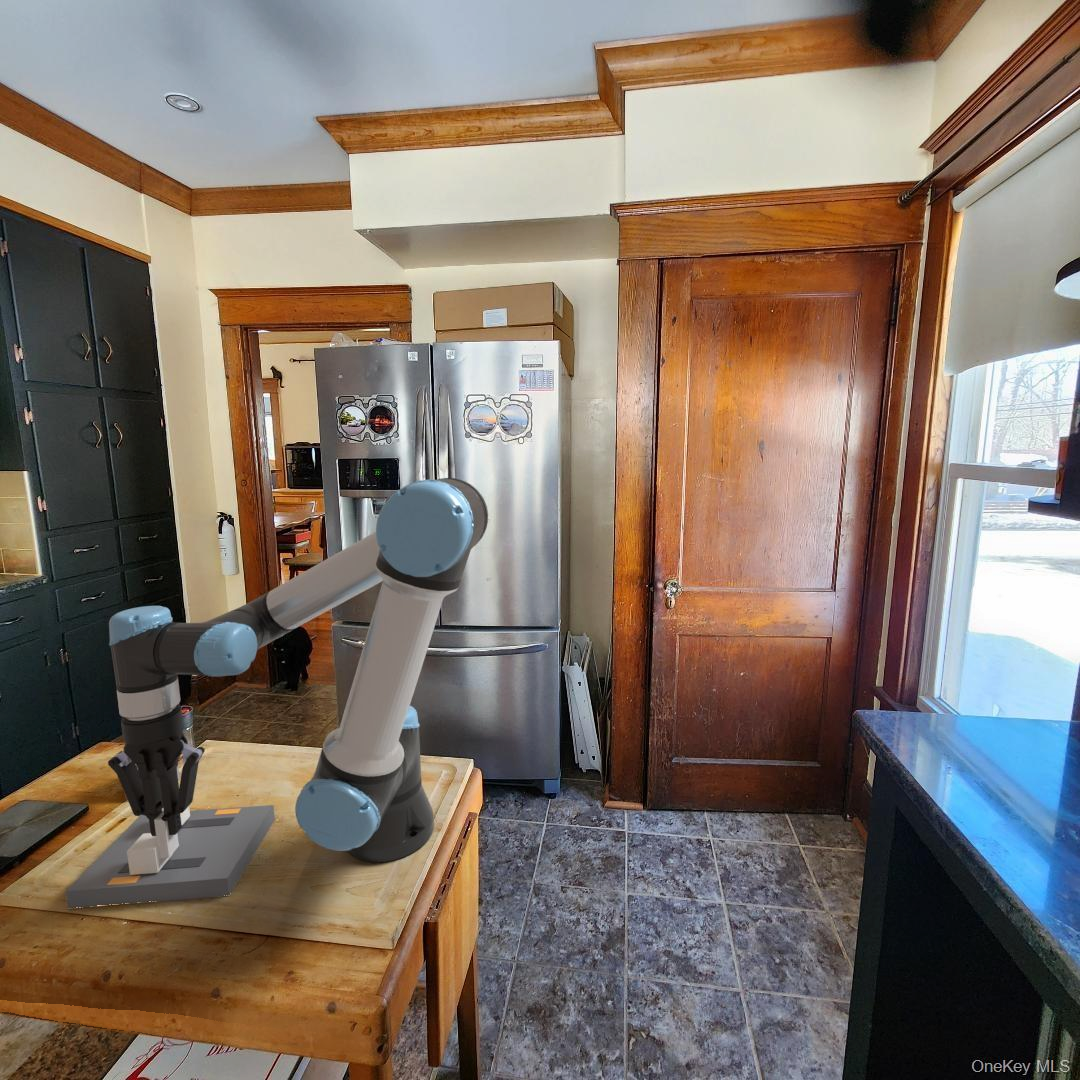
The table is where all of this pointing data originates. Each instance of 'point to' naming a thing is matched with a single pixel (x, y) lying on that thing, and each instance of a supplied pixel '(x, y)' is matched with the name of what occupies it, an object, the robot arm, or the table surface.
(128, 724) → the robot arm
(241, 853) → the switch panel
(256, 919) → the table surface
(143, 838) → the tab left
